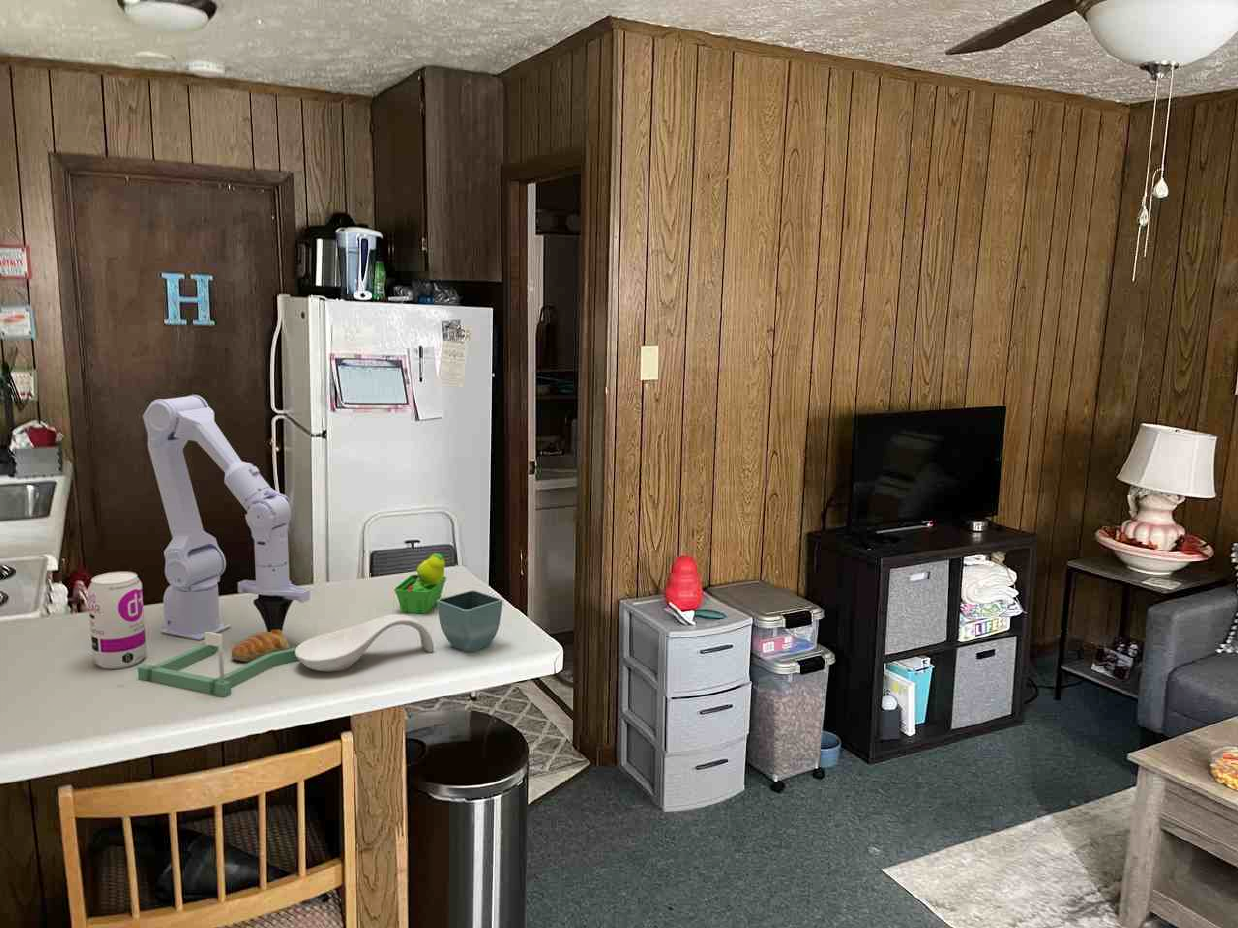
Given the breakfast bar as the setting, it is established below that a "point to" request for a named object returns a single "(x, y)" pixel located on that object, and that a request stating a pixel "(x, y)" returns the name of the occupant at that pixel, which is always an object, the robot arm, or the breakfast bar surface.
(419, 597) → the fruit basket
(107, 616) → the supplement can
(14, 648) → the breakfast bar surface
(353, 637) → the spoon rest
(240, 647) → the pastry
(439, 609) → the flower pot
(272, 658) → the green bars
